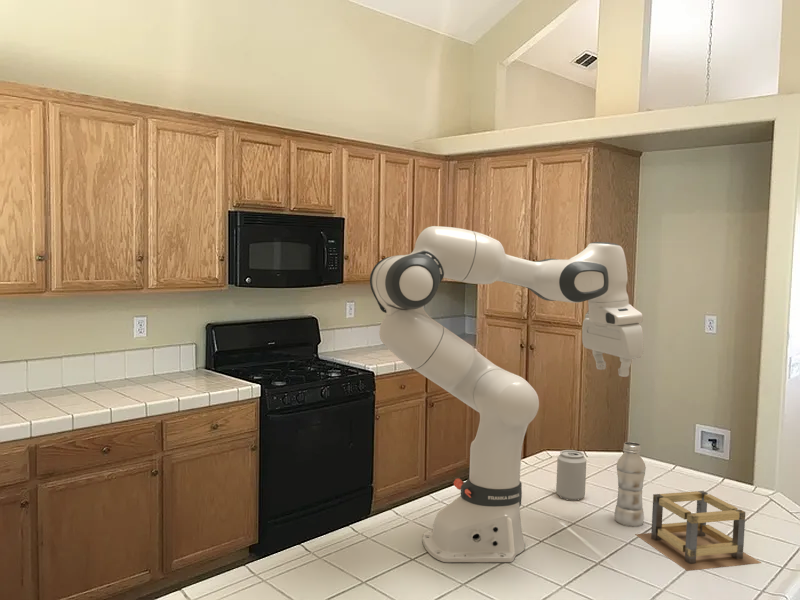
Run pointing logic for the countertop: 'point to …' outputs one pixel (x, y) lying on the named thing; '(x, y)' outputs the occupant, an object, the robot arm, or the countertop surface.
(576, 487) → the can
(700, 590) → the countertop surface
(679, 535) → the walnut board
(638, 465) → the plastic bottle
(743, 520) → the frame
